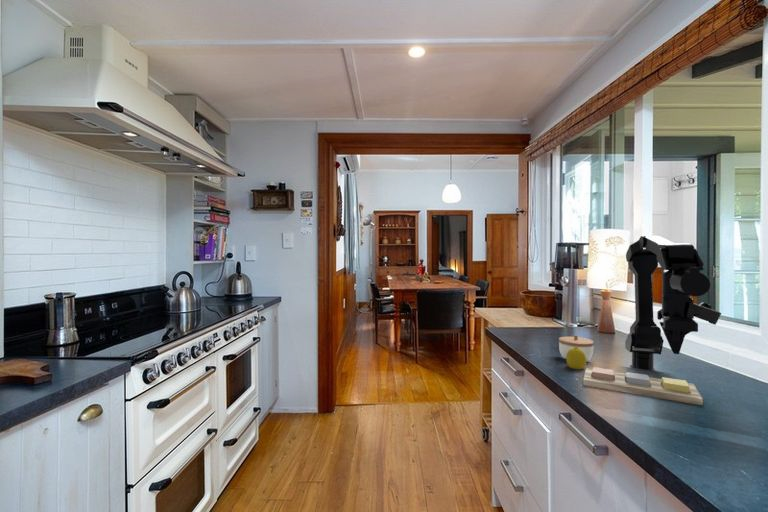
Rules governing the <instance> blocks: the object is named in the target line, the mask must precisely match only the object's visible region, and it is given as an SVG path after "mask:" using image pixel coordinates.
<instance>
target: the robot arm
mask: <svg viewBox="0 0 768 512" xmlns="http://www.w3.org/2000/svg"><path fill="white" fill-rule="evenodd" d="M625 259H626V262H627V268H628V269H629V270H630V271H631V272H632V274H633V275H634V300H635V301H634V305H635V307H634V308H635V310H634V311H635V320H634V322H633V323H632V324H631V325H630V327H629V333H628V334H627V337H626V339H625V341H624V345H625V350H627V351H628V352H629V353H631V364H630V365H629V367H630V368H631V369H637V370H643V371H644V370H645V371H654V372H655V371H656V369H655V368H654V366H655V365H654V359H655V357H654V356H655V355H662V351H663V348H664V347H663V346H664V342H665V341H664V339H663V336H662V331H663V334H664V336H665V338H666V341H667V343H668V345H669V348H670V349H671V352H672V353H673V354H675V355H679V354H680V352H681V349H682V345H683V343H684V339H685V337H686V336H687V335H688V334H690V333H693V332H694V333H697V332H698V333H699V323H698V322H696V321H695V320H694V319H695V318H697V319H700V320H703V321H706V322H708V323H709V324H712V325H717V323H718V321H719V319H720V318H721V316H722V312H721V311H720V312H719V311H718V310H715V309H712V304H710V303H707V302H704V301H702V302H700V303H694V298H693V297H701V296H703V295H705V294H707V293H708V292H709V290H710V287H711V281H710V280H709V277H707V276H706V275H705V273H702V272H701V271H704V267H703V266H704V262H703V260H702V258H701V256H700V255H699V253H698V250H697V249H696V247H695V246H694V245H693V244H692V243H675V242H672V241H670V240H668V239H666V238H664V237H662V236H661V235H659V234H646V235H645V234H644V235H641V236H640V237H639V239H638V240H636V241H635V242H633V243H632V244H629V246H628V249H627V251H626V253H625ZM658 266H660V268H661V272H660V273H661V275H662V278H661V280H662V281H661V285H662V286H661V288H662V289H661V293H662V294H661V295H660V299H661V309H659V310H657V315H656V316H657V320H660V322H659V324H660V326H658V325H657V323H655V321H654V301H653V300H654V297H653V274H654V273H655V271H656V270H657V268H659V267H658ZM694 317H695V318H694ZM661 320H663V321H661ZM654 354H655V355H654Z"/></svg>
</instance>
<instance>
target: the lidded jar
mask: <svg viewBox="0 0 768 512" xmlns="http://www.w3.org/2000/svg"><path fill="white" fill-rule="evenodd" d="M594 345H595V343H594V341H593V340H592V339H589V338H584V337H580V336H578V335H577V334H574V335H573V336H560V337H558V347H559V348H558V350H559V353H560V355H561V357H562V358H563V359H565V360H566V357H567V353H568V351H569V350H570V349H572V348H575V347H578V348H579V349H581V350H582V351H583V352H584V354H585V356H586V362H589V361H590V359H591V358H592V357H593V352H594Z"/></svg>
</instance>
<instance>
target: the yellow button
mask: <svg viewBox="0 0 768 512" xmlns="http://www.w3.org/2000/svg"><path fill="white" fill-rule="evenodd" d="M661 379H662V388H663V389H668V390H674V391H681V392H687V393H689V385H688V382H687V380H684V379H677V378H670V377H663V376H662V377H661Z"/></svg>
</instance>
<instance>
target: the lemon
mask: <svg viewBox="0 0 768 512" xmlns="http://www.w3.org/2000/svg"><path fill="white" fill-rule="evenodd" d="M565 360H566V364H567V366H568V368H570V369H572V370H573V369H574V370H583V369H585V367H586V365H587V361H586V356H585V354H584V352H583V351H582V350H581V349H579V348H578V347H575V348H572V349H570V350H569V351H568V353H567V357H566V359H565Z"/></svg>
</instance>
